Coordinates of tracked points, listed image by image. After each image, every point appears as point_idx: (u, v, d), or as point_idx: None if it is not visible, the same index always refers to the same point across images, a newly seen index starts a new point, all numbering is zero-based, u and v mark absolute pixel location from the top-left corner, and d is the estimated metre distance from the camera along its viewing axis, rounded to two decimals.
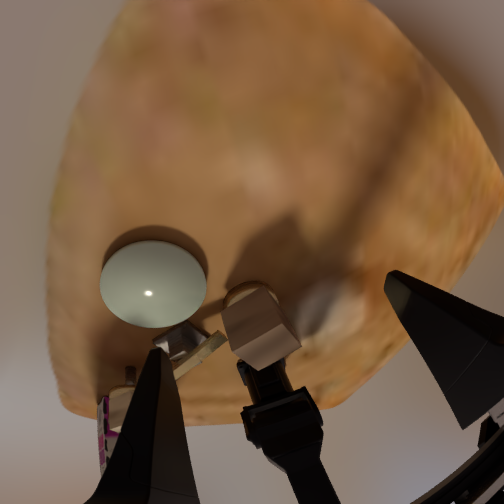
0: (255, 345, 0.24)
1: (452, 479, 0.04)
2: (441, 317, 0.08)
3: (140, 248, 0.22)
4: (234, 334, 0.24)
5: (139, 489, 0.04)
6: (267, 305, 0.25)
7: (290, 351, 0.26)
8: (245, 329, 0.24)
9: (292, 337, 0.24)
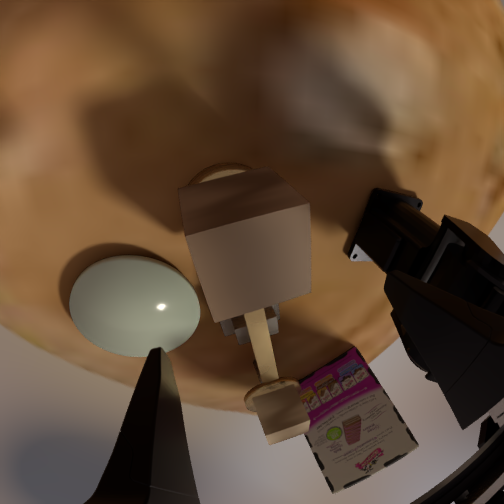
0: (223, 289, 0.12)
1: (452, 479, 0.04)
2: (441, 317, 0.08)
3: (73, 308, 0.17)
4: None
5: (139, 489, 0.04)
6: None
7: (304, 229, 0.12)
8: None
9: (255, 219, 0.11)
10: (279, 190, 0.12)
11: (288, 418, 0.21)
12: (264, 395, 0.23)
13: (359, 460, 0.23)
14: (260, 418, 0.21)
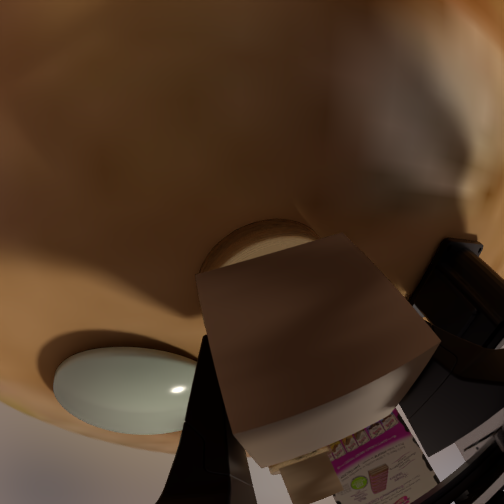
0: (282, 451, 0.06)
1: (452, 479, 0.04)
2: None
3: (59, 396, 0.11)
4: None
5: (218, 480, 0.04)
6: None
7: (417, 370, 0.06)
8: None
9: (361, 388, 0.05)
10: (384, 303, 0.06)
11: (320, 489, 0.15)
12: (293, 465, 0.17)
13: None
14: (289, 490, 0.15)
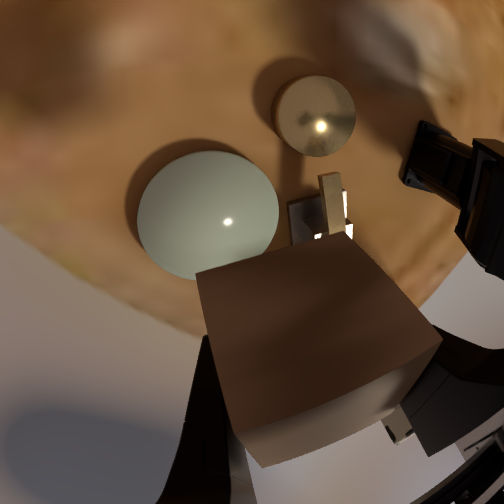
0: (283, 451, 0.06)
1: (452, 479, 0.04)
2: None
3: (142, 212, 0.17)
4: None
5: (218, 479, 0.04)
6: None
7: (419, 369, 0.06)
8: None
9: (363, 386, 0.05)
10: (386, 301, 0.06)
11: None
12: None
13: None
14: None
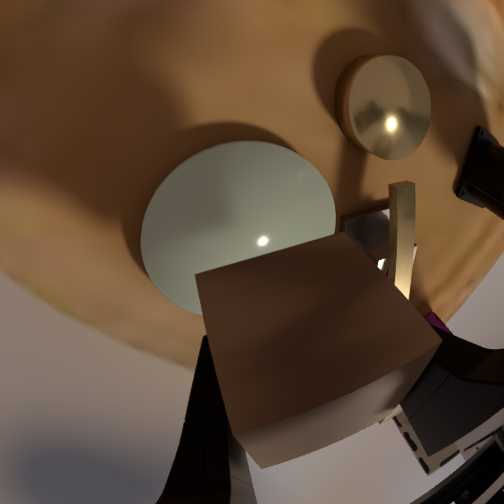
0: (282, 451, 0.06)
1: (452, 479, 0.04)
2: None
3: (148, 229, 0.12)
4: None
5: (218, 479, 0.04)
6: None
7: (418, 370, 0.06)
8: None
9: (362, 388, 0.05)
10: (385, 302, 0.06)
11: None
12: None
13: None
14: None
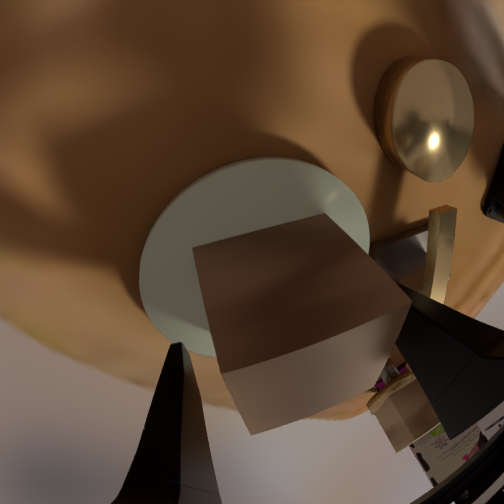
0: (269, 411, 0.07)
1: (452, 479, 0.04)
2: (426, 326, 0.07)
3: (148, 269, 0.09)
4: None
5: (168, 487, 0.04)
6: None
7: (393, 332, 0.07)
8: None
9: (337, 337, 0.06)
10: (359, 269, 0.08)
11: None
12: (402, 389, 0.15)
13: (466, 452, 0.15)
14: (404, 419, 0.14)
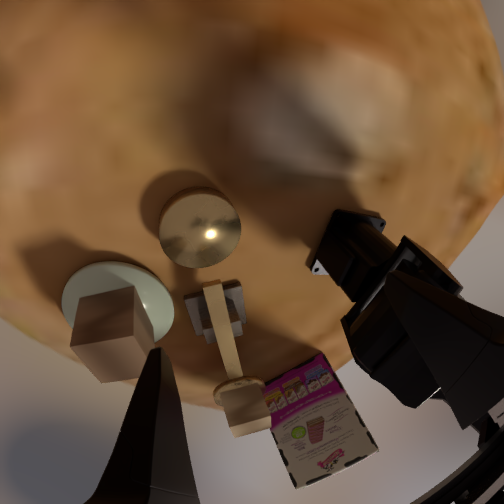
0: (99, 369, 0.17)
1: (452, 479, 0.04)
2: (441, 317, 0.08)
3: (64, 304, 0.19)
4: None
5: (139, 489, 0.04)
6: None
7: (135, 346, 0.17)
8: None
9: (103, 342, 0.16)
10: (125, 318, 0.17)
11: (251, 413, 0.23)
12: (230, 391, 0.25)
13: (321, 459, 0.25)
14: (225, 411, 0.24)
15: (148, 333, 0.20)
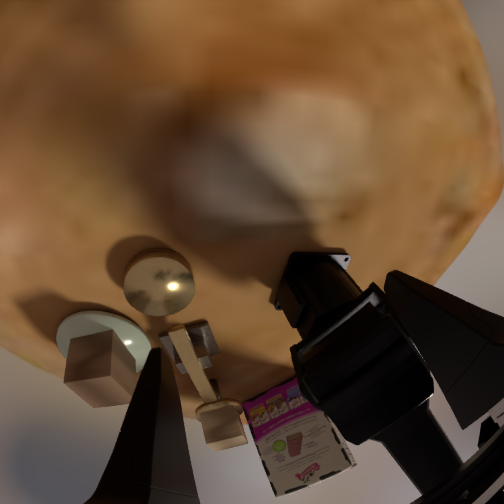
0: (89, 398, 0.19)
1: (452, 479, 0.04)
2: (441, 317, 0.08)
3: (59, 344, 0.21)
4: None
5: (139, 488, 0.04)
6: None
7: (114, 383, 0.19)
8: None
9: (88, 380, 0.18)
10: (105, 359, 0.19)
11: (225, 432, 0.25)
12: (209, 411, 0.27)
13: (298, 471, 0.27)
14: (204, 429, 0.25)
15: (128, 367, 0.22)
